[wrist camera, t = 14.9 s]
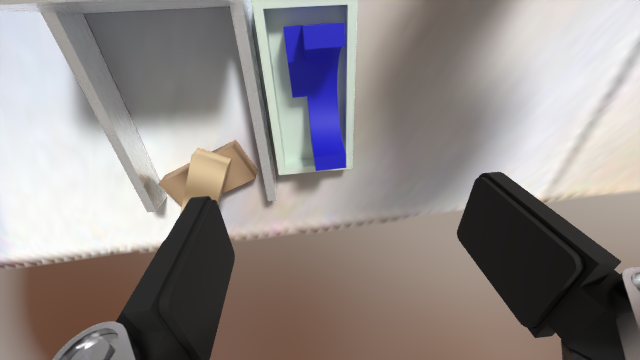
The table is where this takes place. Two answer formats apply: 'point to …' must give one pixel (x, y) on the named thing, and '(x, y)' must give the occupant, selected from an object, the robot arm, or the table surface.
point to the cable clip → (318, 86)
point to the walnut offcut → (237, 175)
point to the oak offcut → (206, 175)
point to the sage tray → (286, 112)
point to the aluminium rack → (103, 96)
